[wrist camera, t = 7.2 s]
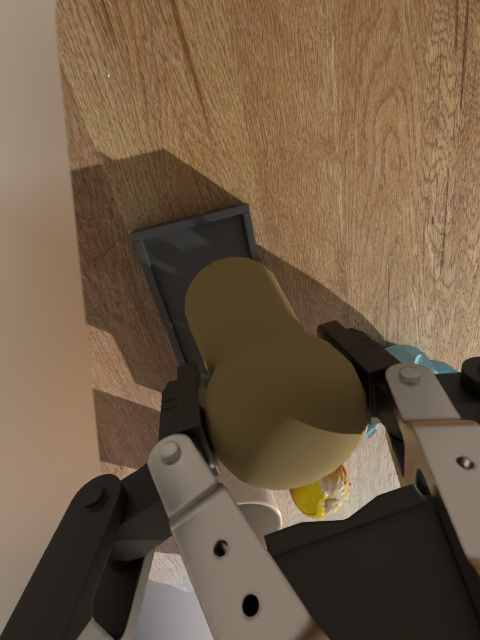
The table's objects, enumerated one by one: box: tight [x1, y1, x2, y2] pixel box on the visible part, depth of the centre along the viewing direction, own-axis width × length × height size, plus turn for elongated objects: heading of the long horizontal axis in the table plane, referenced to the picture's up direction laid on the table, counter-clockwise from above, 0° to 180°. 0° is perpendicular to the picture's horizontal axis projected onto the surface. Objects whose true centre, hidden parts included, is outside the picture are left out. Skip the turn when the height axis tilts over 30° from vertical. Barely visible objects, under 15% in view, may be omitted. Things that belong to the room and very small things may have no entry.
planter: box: [215, 460, 282, 547], centre depth 44 cm, size 12×12×11 cm
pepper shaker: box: [185, 257, 367, 490], centre depth 13 cm, size 6×6×11 cm
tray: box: [130, 203, 259, 391], centre depth 37 cm, size 26×13×2 cm, turn 12°
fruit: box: [290, 465, 351, 519], centre depth 52 cm, size 11×10×8 cm
